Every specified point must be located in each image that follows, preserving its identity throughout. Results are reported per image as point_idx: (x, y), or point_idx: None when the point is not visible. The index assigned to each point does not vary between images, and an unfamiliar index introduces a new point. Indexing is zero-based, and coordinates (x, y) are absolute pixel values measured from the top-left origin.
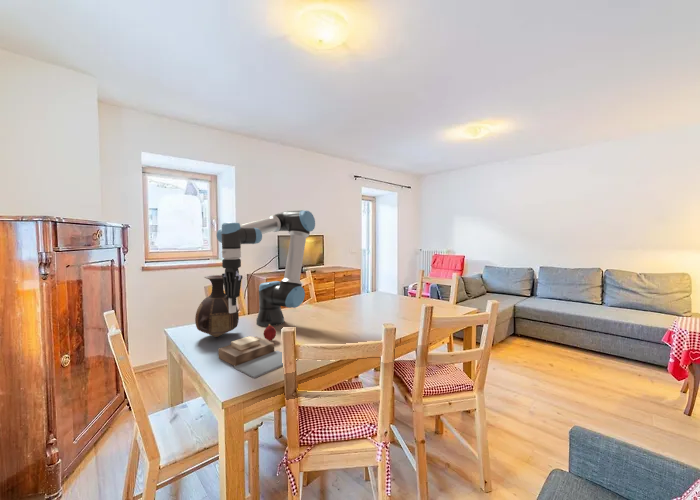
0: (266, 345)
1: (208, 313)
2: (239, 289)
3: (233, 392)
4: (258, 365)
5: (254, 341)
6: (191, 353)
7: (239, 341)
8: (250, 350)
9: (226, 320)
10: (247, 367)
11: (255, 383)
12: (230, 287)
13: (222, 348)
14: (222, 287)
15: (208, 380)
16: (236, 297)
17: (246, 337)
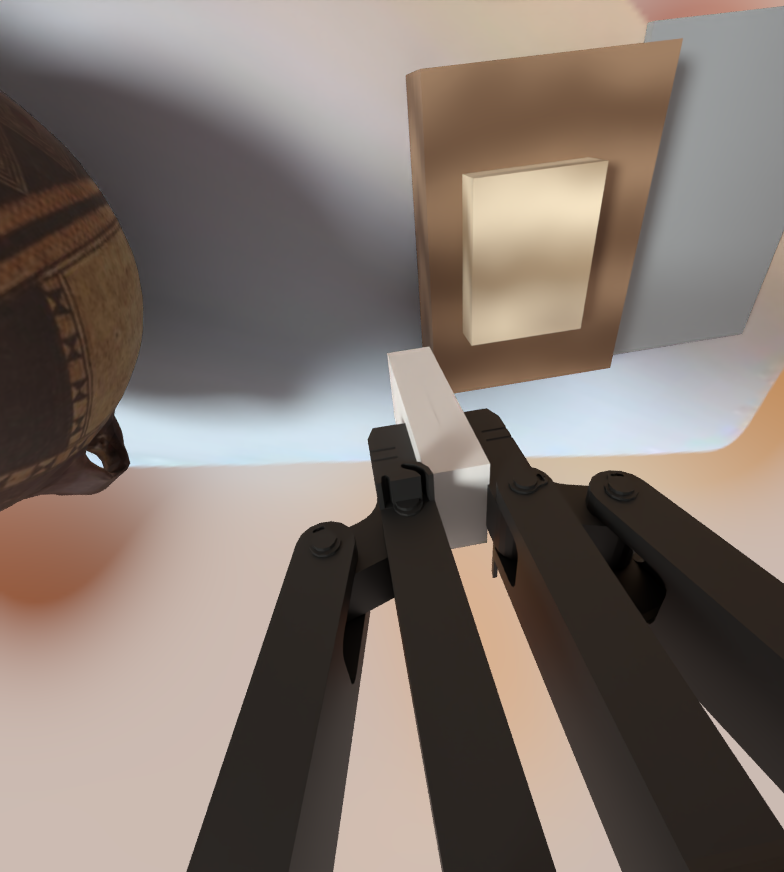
0: (657, 132)
1: (47, 475)
2: (779, 600)
3: (727, 419)
4: (689, 266)
5: (597, 214)
6: (265, 447)
7: (514, 303)
8: (619, 272)
9: (109, 283)
10: (654, 317)
11: (765, 344)
12: (574, 745)
13: (453, 380)
14: None
15: (585, 453)
16: (554, 483)
17: (483, 224)
